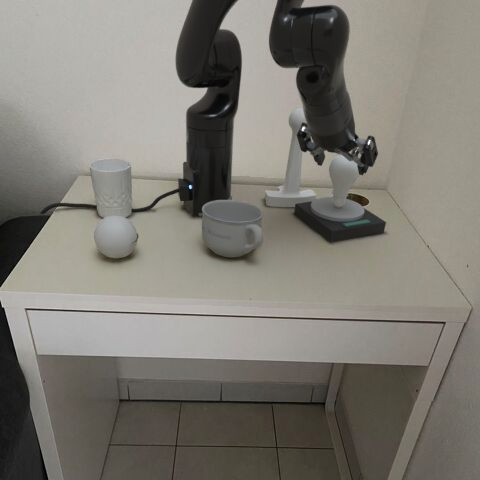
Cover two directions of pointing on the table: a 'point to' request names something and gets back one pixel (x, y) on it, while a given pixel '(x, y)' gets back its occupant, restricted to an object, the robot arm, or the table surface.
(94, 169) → the white cup
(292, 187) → the joystick
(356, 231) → the scale
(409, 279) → the table surface
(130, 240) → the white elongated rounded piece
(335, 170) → the lightbulb
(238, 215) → the teacup
